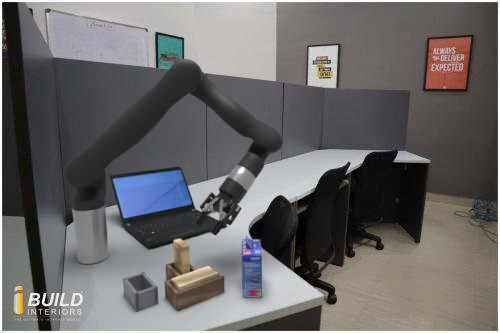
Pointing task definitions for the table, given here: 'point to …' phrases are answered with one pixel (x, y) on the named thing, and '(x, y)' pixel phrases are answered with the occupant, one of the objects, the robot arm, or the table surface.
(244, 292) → the ink cartridge box
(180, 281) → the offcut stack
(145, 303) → the holder
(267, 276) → the table surface
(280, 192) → the table surface
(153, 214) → the laptop
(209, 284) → the tray
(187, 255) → the oak slat
